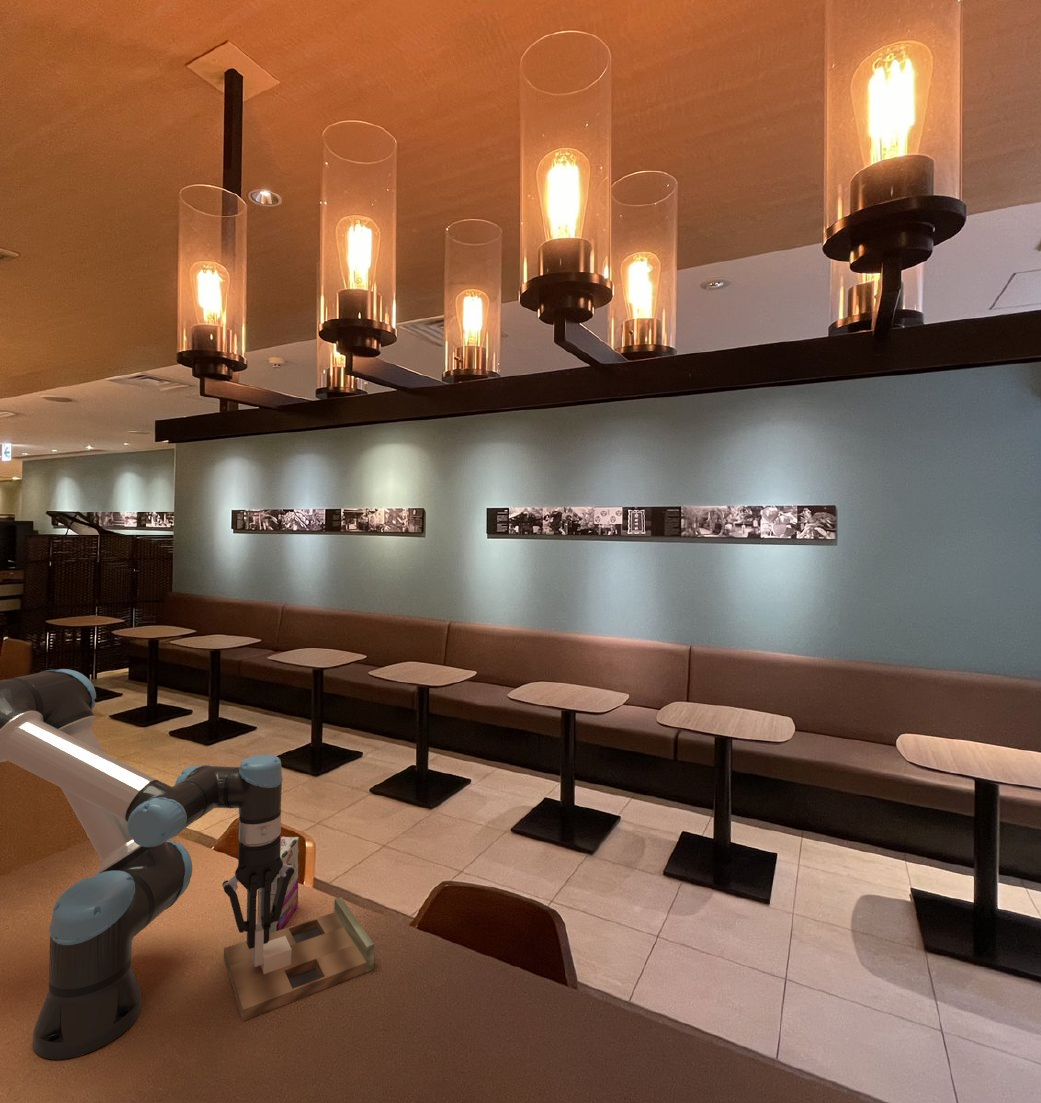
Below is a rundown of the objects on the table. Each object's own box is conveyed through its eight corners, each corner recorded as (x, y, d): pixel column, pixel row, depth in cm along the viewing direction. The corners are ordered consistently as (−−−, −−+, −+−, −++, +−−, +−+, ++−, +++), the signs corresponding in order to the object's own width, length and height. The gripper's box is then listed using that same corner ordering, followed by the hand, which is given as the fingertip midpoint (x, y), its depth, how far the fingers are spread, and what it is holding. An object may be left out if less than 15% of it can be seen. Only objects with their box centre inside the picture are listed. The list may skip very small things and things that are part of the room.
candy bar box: (277, 906, 138) (279, 835, 139) (298, 906, 138) (300, 836, 139) (254, 936, 127) (257, 859, 127) (277, 936, 127) (280, 860, 127)
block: (263, 974, 113) (264, 958, 113) (258, 959, 117) (258, 944, 117) (290, 964, 115) (291, 949, 115) (284, 950, 119) (285, 935, 120)
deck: (242, 1021, 103) (243, 992, 104) (223, 958, 120) (224, 933, 120) (373, 969, 117) (374, 944, 117) (340, 919, 134) (341, 897, 134)
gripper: (226, 855, 108) (223, 986, 107) (299, 837, 115) (297, 960, 114) (219, 839, 114) (217, 963, 113) (290, 823, 121) (288, 939, 121)
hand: (257, 961), depth 114 cm, fingers closed
